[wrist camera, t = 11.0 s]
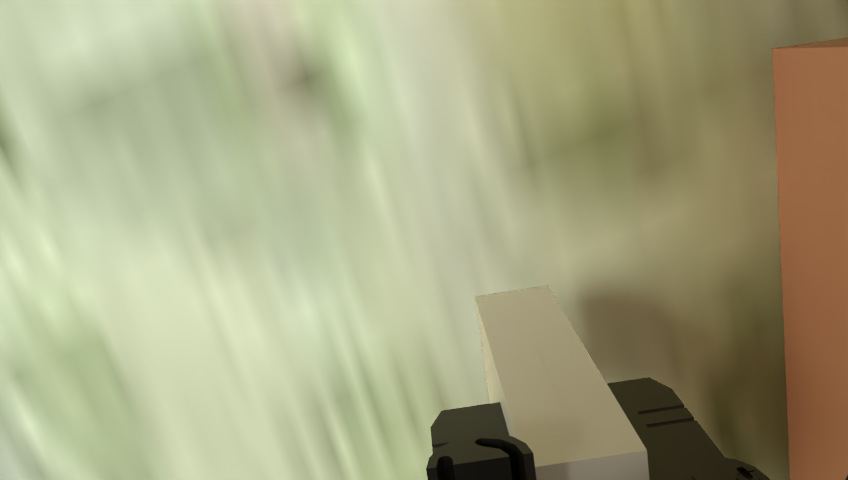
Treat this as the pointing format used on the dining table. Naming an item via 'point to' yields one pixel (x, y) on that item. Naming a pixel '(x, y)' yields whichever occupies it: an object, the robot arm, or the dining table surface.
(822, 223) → the t block
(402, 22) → the dining table surface
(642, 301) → the dining table surface
